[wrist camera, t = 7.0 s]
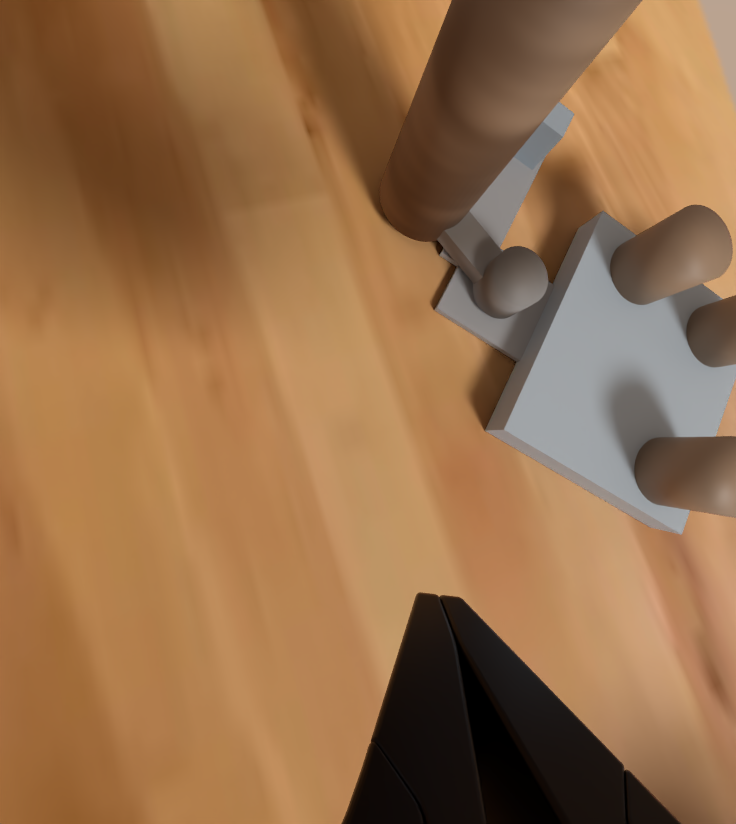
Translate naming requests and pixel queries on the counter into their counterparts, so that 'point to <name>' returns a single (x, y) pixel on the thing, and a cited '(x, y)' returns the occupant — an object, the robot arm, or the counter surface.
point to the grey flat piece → (616, 353)
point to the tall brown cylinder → (488, 128)
